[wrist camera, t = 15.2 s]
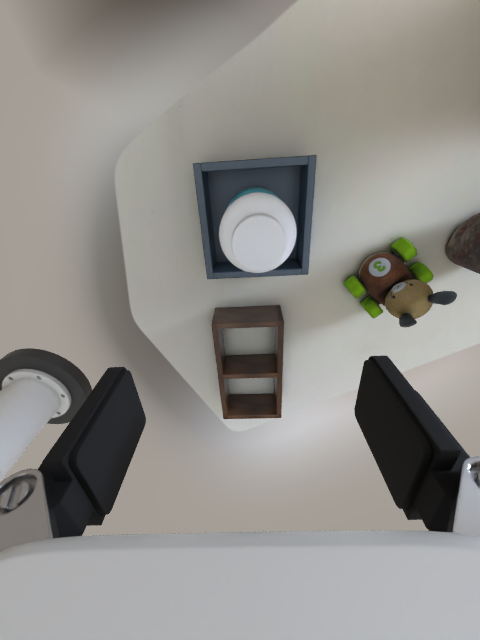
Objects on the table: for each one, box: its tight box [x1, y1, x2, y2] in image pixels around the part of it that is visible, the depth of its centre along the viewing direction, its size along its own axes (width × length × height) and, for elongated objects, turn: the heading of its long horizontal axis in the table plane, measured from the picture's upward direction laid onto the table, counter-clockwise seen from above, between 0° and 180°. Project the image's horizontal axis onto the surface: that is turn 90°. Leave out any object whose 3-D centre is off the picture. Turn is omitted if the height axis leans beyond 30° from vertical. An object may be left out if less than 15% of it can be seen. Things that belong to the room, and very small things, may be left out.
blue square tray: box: [193, 155, 316, 279], centre depth 32 cm, size 13×13×5 cm
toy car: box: [344, 238, 457, 327], centre depth 33 cm, size 9×9×11 cm
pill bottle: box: [219, 186, 297, 273], centre depth 28 cm, size 8×7×14 cm
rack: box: [212, 305, 284, 419], centre depth 43 cm, size 10×19×5 cm, turn 3°
